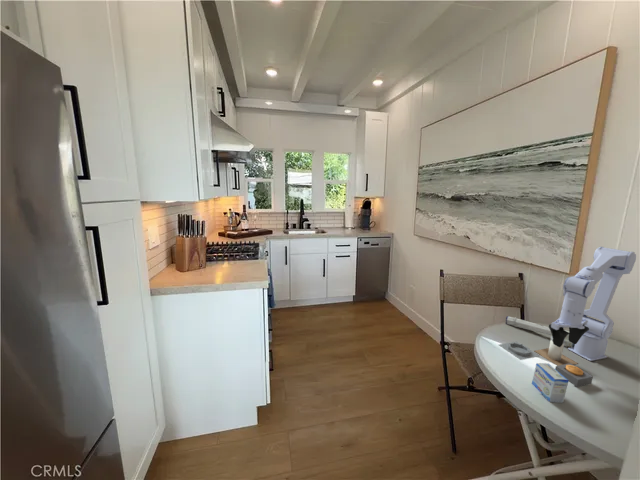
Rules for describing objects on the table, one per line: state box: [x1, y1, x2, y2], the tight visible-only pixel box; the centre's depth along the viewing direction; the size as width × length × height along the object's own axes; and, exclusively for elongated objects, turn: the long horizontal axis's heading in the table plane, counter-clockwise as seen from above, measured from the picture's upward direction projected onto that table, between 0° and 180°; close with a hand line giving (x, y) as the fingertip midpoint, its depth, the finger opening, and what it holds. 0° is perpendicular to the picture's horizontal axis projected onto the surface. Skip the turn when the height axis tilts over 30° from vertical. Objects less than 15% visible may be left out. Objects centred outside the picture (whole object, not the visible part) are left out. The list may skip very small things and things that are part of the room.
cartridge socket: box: [498, 341, 541, 361], centre depth 110 cm, size 10×10×2 cm
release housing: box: [554, 363, 594, 388], centre depth 94 cm, size 7×7×3 cm
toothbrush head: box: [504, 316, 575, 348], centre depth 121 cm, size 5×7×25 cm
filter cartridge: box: [548, 335, 565, 360], centre depth 104 cm, size 4×4×8 cm
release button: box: [565, 365, 584, 376], centre depth 94 cm, size 5×5×4 cm
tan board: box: [533, 347, 579, 366], centre depth 105 cm, size 9×10×1 cm
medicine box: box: [531, 362, 570, 404], centre depth 87 cm, size 8×4×9 cm, turn 178°
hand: (564, 344), depth 97 cm, fingers open, 7 cm apart
